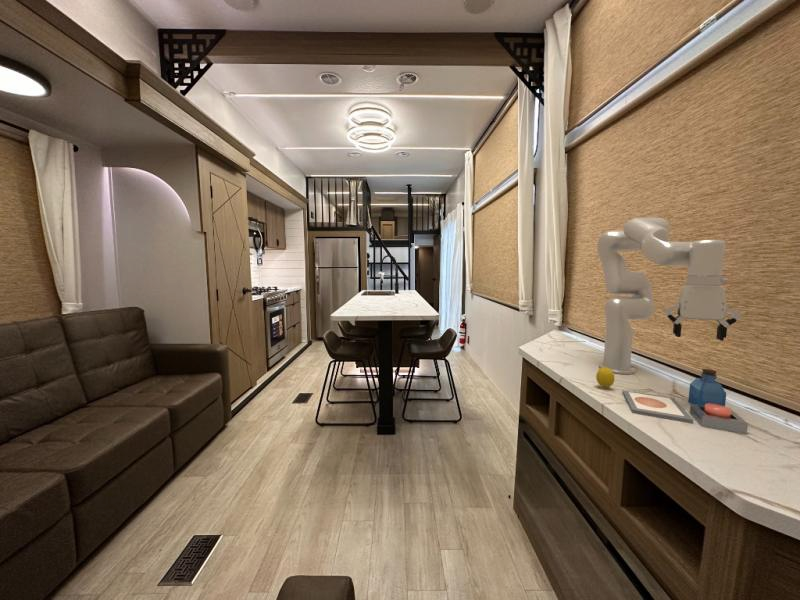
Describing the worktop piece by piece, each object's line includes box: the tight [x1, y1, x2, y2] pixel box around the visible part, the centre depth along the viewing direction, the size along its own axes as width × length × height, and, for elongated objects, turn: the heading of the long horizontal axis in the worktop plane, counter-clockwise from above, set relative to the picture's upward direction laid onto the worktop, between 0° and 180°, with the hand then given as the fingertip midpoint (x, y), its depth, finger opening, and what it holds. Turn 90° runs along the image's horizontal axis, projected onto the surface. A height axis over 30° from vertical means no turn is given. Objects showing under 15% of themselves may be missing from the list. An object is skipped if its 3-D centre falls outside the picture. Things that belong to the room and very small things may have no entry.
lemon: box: [595, 367, 615, 389], centre depth 113 cm, size 6×6×8 cm
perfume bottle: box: [688, 368, 727, 407], centre depth 98 cm, size 6×6×12 cm
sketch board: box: [621, 389, 694, 424], centre depth 98 cm, size 17×14×1 cm
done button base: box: [689, 403, 749, 435], centre depth 88 cm, size 9×9×3 cm
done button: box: [704, 403, 732, 419], centre depth 88 cm, size 5×5×3 cm
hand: (698, 337), depth 95 cm, fingers open, 9 cm apart
